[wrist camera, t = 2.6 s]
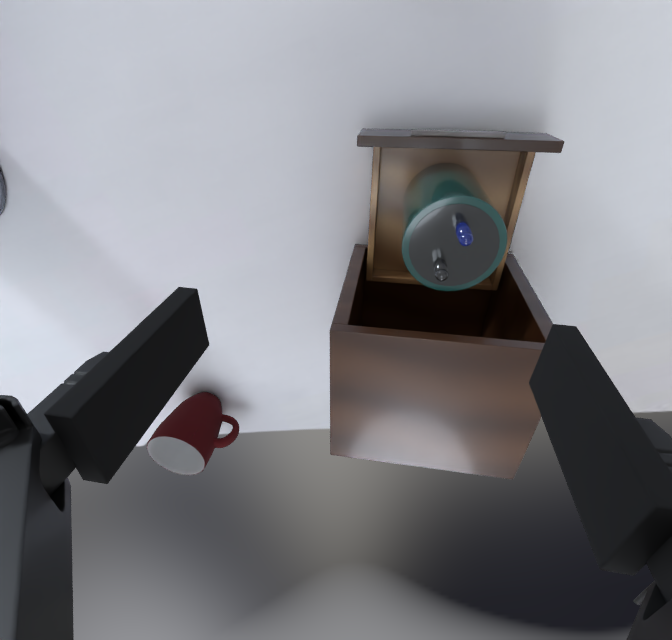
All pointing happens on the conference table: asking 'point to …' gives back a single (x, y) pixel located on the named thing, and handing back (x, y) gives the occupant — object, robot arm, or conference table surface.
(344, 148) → the conference table surface
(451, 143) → the drawer
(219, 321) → the conference table surface
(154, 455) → the mug
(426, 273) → the pen pot
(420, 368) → the open wooden box
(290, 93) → the conference table surface
